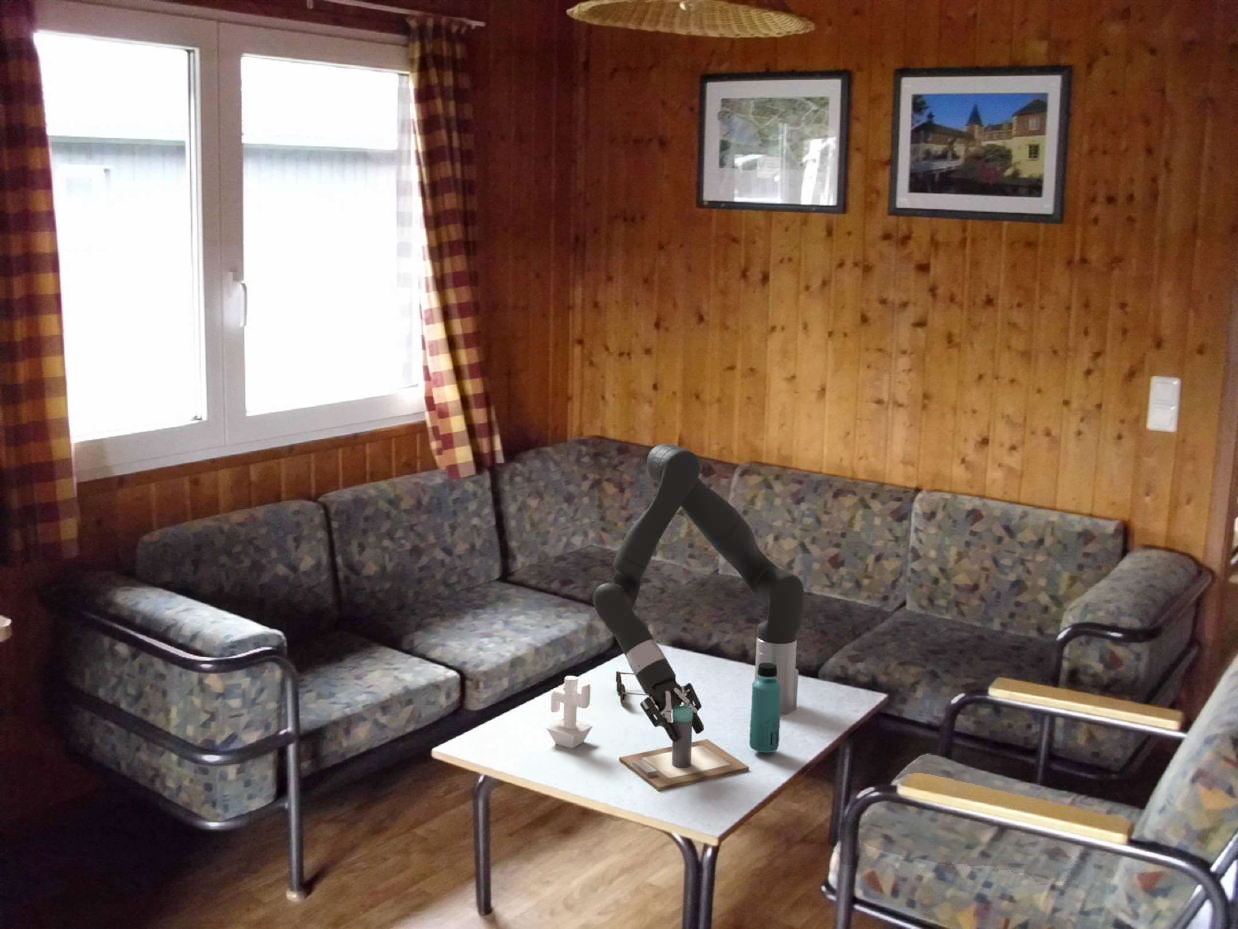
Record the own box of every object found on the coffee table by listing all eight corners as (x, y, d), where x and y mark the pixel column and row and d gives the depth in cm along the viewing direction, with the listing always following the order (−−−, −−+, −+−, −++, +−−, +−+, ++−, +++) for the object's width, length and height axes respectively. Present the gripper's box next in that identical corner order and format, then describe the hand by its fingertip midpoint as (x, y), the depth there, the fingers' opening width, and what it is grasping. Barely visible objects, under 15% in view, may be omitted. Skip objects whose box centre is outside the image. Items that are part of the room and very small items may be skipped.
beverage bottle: (770, 761, 285) (775, 672, 281) (742, 754, 288) (747, 665, 284) (784, 751, 290) (788, 663, 286) (756, 744, 294) (760, 657, 290)
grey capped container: (684, 758, 283) (685, 704, 281) (695, 765, 279) (696, 711, 277) (667, 762, 281) (668, 707, 279) (678, 769, 277) (679, 714, 275)
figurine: (561, 732, 297) (562, 667, 294) (596, 742, 292) (598, 677, 289) (542, 742, 291) (543, 677, 288) (577, 753, 286) (579, 686, 283)
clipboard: (706, 742, 294) (707, 734, 293) (748, 770, 280) (749, 762, 280) (619, 761, 283) (619, 753, 283) (658, 791, 269) (658, 782, 269)
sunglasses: (614, 689, 325) (616, 669, 324) (679, 691, 327) (681, 672, 326) (621, 710, 311) (623, 690, 310) (689, 713, 314) (691, 693, 313)
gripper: (635, 665, 276) (675, 737, 270) (683, 650, 286) (722, 719, 280) (616, 683, 281) (655, 753, 275) (664, 667, 291) (702, 735, 285)
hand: (689, 736), depth 278 cm, fingers open, 6 cm apart
